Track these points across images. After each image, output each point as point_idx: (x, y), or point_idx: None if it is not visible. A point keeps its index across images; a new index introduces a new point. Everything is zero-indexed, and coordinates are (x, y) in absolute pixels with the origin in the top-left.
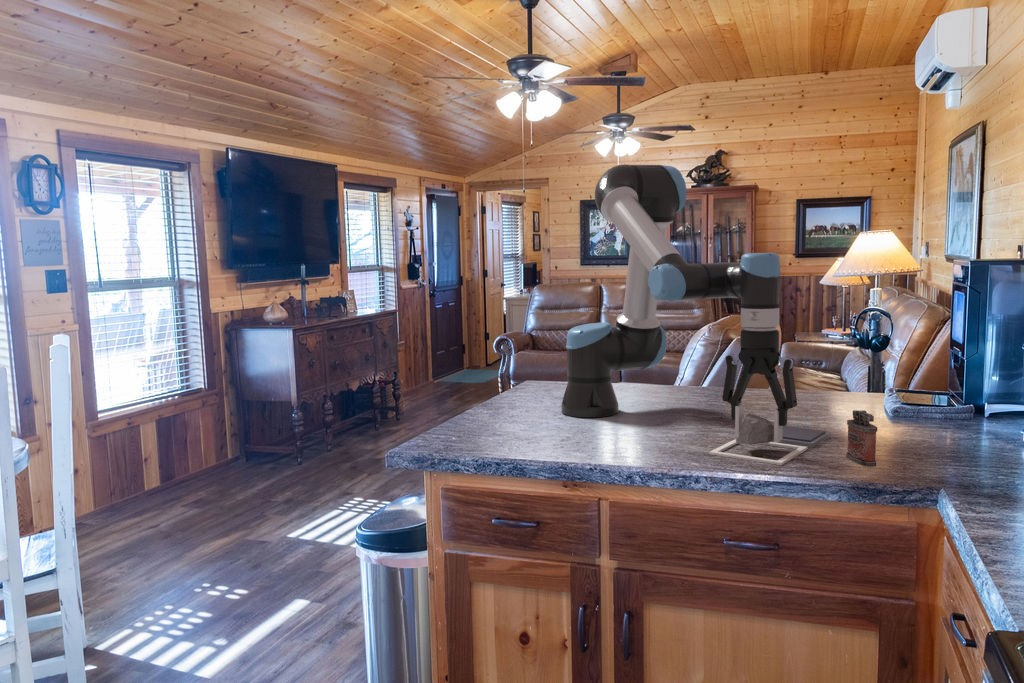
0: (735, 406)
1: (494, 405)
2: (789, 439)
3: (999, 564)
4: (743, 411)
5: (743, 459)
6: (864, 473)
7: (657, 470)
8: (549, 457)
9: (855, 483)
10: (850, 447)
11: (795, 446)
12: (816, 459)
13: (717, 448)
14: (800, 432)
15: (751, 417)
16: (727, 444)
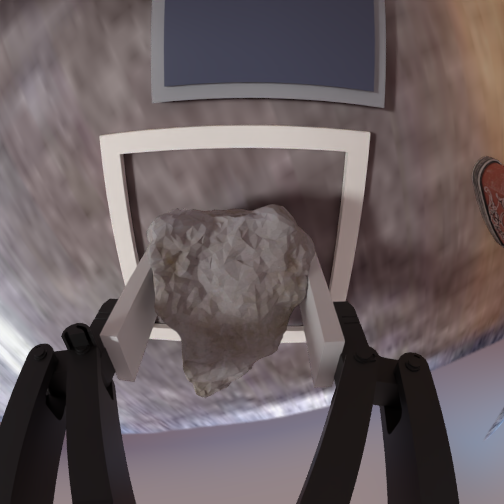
0: (119, 378)
1: None
2: (288, 83)
3: (495, 427)
4: (129, 316)
5: None
6: (488, 293)
7: (152, 429)
8: None
9: (462, 352)
10: (499, 212)
11: (331, 146)
12: (409, 241)
13: None
14: None
15: (211, 368)
16: (123, 247)
